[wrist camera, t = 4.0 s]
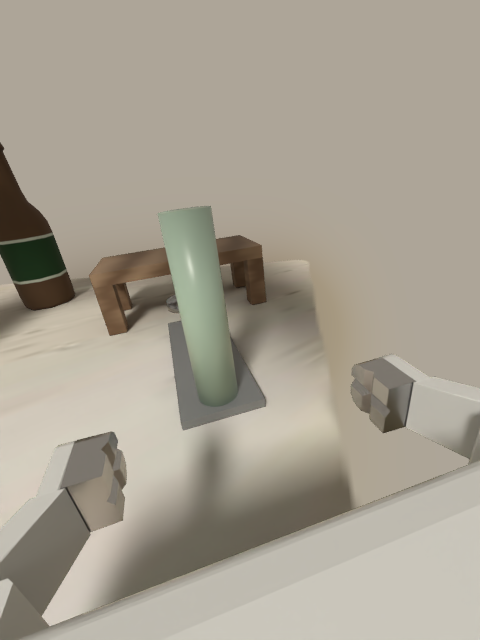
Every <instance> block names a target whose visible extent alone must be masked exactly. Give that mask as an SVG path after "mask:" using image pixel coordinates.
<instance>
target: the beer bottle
mask: <svg viewBox="0 0 480 640" xmlns="http://www.w3.org/2000/svg"><path fill="white" fill-rule="evenodd" d="M3 150H4V147H3V146H2V145H1V143H0V255H1V257H2V259H3V261H4V263H5V265H6V268H7V270H8V272H9V274H10V276H11V278H12V281H13V283H14V285H15V287H16V289H17V291H18V293H19V296H20V298H21V299H22V301H23V303H24V305H25V306H26V307H27V308H29V309H32V310H40V309H46V308H52V307H55V306H58V305H60V304H63V303H66V302H69V301H70V300H71V299H72V298H73V297H74V296H75V292H74V289H73V286H72V283H71V280H70V278H69V275H68V272H67V270H66V267H65V264H64V262H63V259H62V256H61V254H60V251H59V249H58V246H57V243H56V240H55V238H54V235H53V232H52V230H51V228H50V226H49V224H48V222H47V220H46V219H45V218H44V217H43V215H42V214H41V213H40V212H39V211H38V210H37V209H36V208H35V207H34V206H32V205H31V204H30V203H29V202H28V201H27V200H26V198H25V196H24V195H23V193H22V192H21V190H20V188H19V185H18V183H17V181H16V179H15V177H14V175H13V173H12V171H11V168H10V166H9V164H8V162H7V160H6V158H5V155H4V153H3Z"/></svg>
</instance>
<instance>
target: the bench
mask: <svg viewBox="0 0 480 640" xmlns="http://www.w3.org/2000/svg"><path fill="white" fill-rule="evenodd" d="M216 244H217V251H218V258H219V265H223V264H228V263H230V264H231V271H232V279H233V285H234V286H235V287H236V288H238V287H243V286H246V290H247V299H248V301H249V302H250V303H251V304H252V305H254V304H258V303H263V302H266V293H265V281H264V269H263V257H262V246H261V245H260V244H258V243H256V242H253V241H251V240H249V239H247V238H245V237H242V236H240V235H238V236H232V237H226V238H220V239H216ZM169 274H171V272H170V267H169V263H168V258H167V254H166V249H165V248H159V249H153V250H147V251H141V252H135V253H129V254H123V255H117V256H110V257H104V258H102V259H101V260H100V262H99V263H98V264H97V266H96V267H95V268H94V270H93V271H92V272H91V273H90V275H89V277H90V280H91V283H92V286H93V289H94V291H95V294H96V297H97V300H98V303H99V306H100V309H101V312H102V315H103V317H104V320H105V323H106V326H107V329H108V332H109V335H110V336H111V335H115V334H120V333H124V332H127V329H128V323H127V320H126V317H125V314H124V310H129V309H131V307H132V303H131V300H130V296H129V293H128V290H127V286H126V282H131V281H137V280H142V279H147V278H153V277H158V276H164V275H169Z"/></svg>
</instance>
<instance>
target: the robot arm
mask: <svg viewBox="0 0 480 640" xmlns="http://www.w3.org/2000/svg"><path fill="white" fill-rule="evenodd" d="M352 376H353V377H354V378H355V380H354V381H353V383H352V384H351V395H352V398H353V400H354V402H355V404H356V405H357V407H358V408H359V409H360V410H361V411H364V412H366V413H369V417H370V420H371V421H372V422H373V423H374V424H375V425H376V426H377V427H378V428H379V429H380V430H381V432H383V433H386V432H389V431H392V430H395V429H399V428H402V427H406V428H407V429H409V430H411V431H413V432H415V433H417V434H419V435H422V436H424V437H425V438H428V439H430V440H432V441H434V442H436V443H438V444H440V445H442V446H444V447H446V448H448V449H450V450H452V451H454V452H457V453H458V454H461V455H462V456H465V457H467V458H469V459H470V461H469V464H468V465H466V466H464V467H461V468H459V469H456V470H453V471H451V472H449V473H446V474H443V475H440V476H438V477H435V478H433V479H430V480H428V481H425V482H422V483H420V484H418V485H415V486H412V487H409V488H407V489H404V490H402V491H399V492H397V493H394V494H392V495H389V496H386V497H384V498H381V499H379V500H376V501H374V502H371V503H368V504H366V505H363V506H360V507H358V508H355V509H353V510H350V511H348V512H345V513H342V514H340V515H337V516H335V517H332V518H330V519H327V520H324V521H322V522H319V523H317V524H314V525H311V526H309V527H306V528H304V529H301V530H298V531H296V532H293V533H291V534H288V535H286V536H283V537H280V538H278V539H275V540H273V541H270V542H267V543H265V544H262V545H260V546H257V547H254V548H252V549H249V550H247V551H244V552H241V553H239V554H236V555H234V556H231V557H229V558H226V559H223V560H221V561H218V562H216V563H213V564H210V565H208V566H205V567H203V568H200V569H198V570H195V571H192V572H190V573H187V574H185V575H182V576H179V577H177V578H174V579H172V580H169V581H166V582H164V583H161V584H159V585H156V586H154V587H151V588H148V589H146V590H143V591H141V592H138V593H135V594H133V595H130V596H128V597H125V598H122V599H120V600H117V601H115V602H112V603H110V604H107V605H104V606H102V607H99V608H97V609H94V610H91V611H89V612H86V613H84V614H81V615H78V616H76V617H73V618H71V619H68V620H66V621H63V622H60V623H58V624H55V625H53V626H49V625H48V624H47V622H46V621H45V620H44V619H43V618H42V617H41V616H42V615H43V613H44V611H45V610H46V608H47V606H48V605H49V603H50V601H51V600H52V598H53V596H54V595H55V593H56V591H57V590H58V588H59V586H60V585H61V583H62V581H63V580H64V578H65V576H66V575H67V573H68V571H69V570H70V568H71V566H72V565H73V563H74V561H75V560H76V558H77V556H78V555H79V553H80V551H81V550H82V548H83V546H84V545H85V543H86V541H87V540H88V538H89V536H90V535H91V534H90V532H93V531H96V530H98V529H101V528H104V527H107V526H109V525H112V524H115V523H117V522H120V521H123V514H124V503H125V497H124V494H123V492H122V489H123V488H124V486H125V485H126V480H127V470H126V462H125V458H124V455H123V452H122V451H120V450H119V449H117V443H118V440H117V438H116V435H115V433H114V432H108V433H104V434H100V435H96V436H92V437H88V438H84V439H80V440H77V441H73V442H69V443H65V444H61V445H58V446H57V447H56V448H55V449H54V451H53V454H52V456H51V459H50V462H49V464H48V467H47V469H46V472H45V474H44V477H43V480H42V482H41V485H40V487H39V490H38V493H37V495H36V497H34V498H31V499H29V500H28V501H27V502H26V503H25V504H24V505H23V506H22V507H21V508H20V509H19V510H18V511H17V512H16V513H15V514H14V515H13V516H12V517H11V518H10V519H9V520H8V521H7V522H6V523H5V525H4V526H3V527H2V528H1V529H0V640H480V388H478V387H473V386H470V385H466V384H462V383H458V382H454V381H450V380H446V379H442V378H438V377H431V378H430V377H429V376H427V375H426V374H424V373H423V372H421V371H420V370H418V369H417V368H415V367H414V366H412V365H411V364H409V363H407V362H406V361H404V360H403V359H401V358H400V357H398V356H397V355H394V354H389V355H386V356H383V357H379V358H377V359H373V360H370V361H366V362H363V363H359V364H356V365H354V366H353V368H352Z"/></svg>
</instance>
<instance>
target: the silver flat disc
mask: <svg viewBox="0 0 480 640" xmlns="http://www.w3.org/2000/svg"><path fill="white" fill-rule="evenodd" d="M166 302H167V307H168V310H169V311H170V312H173V313H180V312H179V308H178V303H177V299H176V294H175V295H173V296H171V297H169V298H168V299H167V301H166Z"/></svg>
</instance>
